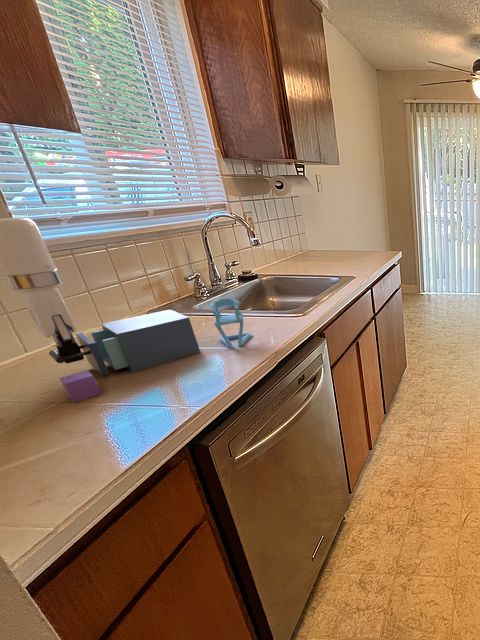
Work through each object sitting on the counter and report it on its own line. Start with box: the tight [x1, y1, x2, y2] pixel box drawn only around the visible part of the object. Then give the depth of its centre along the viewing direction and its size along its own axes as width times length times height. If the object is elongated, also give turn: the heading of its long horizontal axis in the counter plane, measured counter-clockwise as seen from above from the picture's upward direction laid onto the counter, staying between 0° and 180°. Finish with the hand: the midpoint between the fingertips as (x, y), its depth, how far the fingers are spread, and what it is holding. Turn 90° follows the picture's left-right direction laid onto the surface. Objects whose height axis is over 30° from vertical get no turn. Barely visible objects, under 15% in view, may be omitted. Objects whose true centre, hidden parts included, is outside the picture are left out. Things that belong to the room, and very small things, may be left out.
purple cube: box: [59, 370, 102, 403], centre depth 84 cm, size 4×4×4 cm
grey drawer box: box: [101, 308, 201, 372], centre depth 101 cm, size 15×13×10 cm
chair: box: [209, 298, 252, 349], centre depth 109 cm, size 8×8×12 cm
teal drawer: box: [48, 329, 129, 376], centre depth 95 cm, size 19×11×8 cm, turn 144°
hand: (74, 360), depth 91 cm, fingers closed
